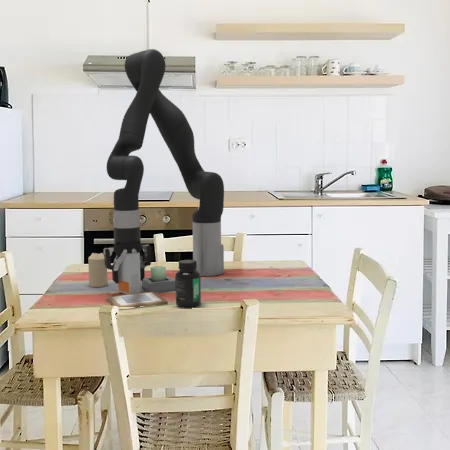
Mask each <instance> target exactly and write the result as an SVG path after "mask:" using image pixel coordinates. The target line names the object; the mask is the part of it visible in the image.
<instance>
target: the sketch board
mask: <svg viewBox="0 0 450 450" xmlns="http://www.w3.org/2000/svg"><path fill="white" fill-rule="evenodd" d="M105 298H106V299H105V300H106V301H107V302H108V303H109V304H110V303H111V304H110V305H111V306H112V305H115V306H118V307H140V306H149V307H154V306H153V305H157V306H164V305H168V304H169V302H168V300H166V299H165V298H163V297H162V296H161V295H160V294H159V293H156V292H147V291H146V292H145V291H144V292H141V293H136V294H119V295H112V296H106V297H105Z"/></svg>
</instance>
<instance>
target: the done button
mask: <svg viewBox="0 0 450 450" xmlns="http://www.w3.org/2000/svg"><path fill="white" fill-rule="evenodd" d="M166 275H167V270H166V266H162V265H160V266H159V265H156V266H152V267H150V277H151V281H152V282H158V281H166Z"/></svg>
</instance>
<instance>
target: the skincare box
mask: <svg viewBox="0 0 450 450" xmlns="http://www.w3.org/2000/svg"><path fill="white" fill-rule="evenodd" d="M116 256H117V255H116V254H115V257H116ZM140 258H141V252H140V253H138V252H137V253H126V254H125V256H124V259H123V261H122V263H121V264H120V266H119V268H118V275H119V283H117V284H116V285H117V286H116V288H117V289H116V290H117V292H118V293H121V294H123V295H128V294H136V293H142V289H141V288H142V281H141V280H140ZM118 259H119V257H118Z"/></svg>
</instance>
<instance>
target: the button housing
mask: <svg viewBox="0 0 450 450" xmlns="http://www.w3.org/2000/svg"><path fill="white" fill-rule="evenodd" d="M141 288H142V289H143V290H144V291H146V292H156V293H157V294H160V293H168V292H176V289H175V278H174V279H173V278H172V277H170V276H169V275H167V274H166V281H158V282H152V281H151V276H147V277H146V276H145V278H144V279H143V281H141Z"/></svg>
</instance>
